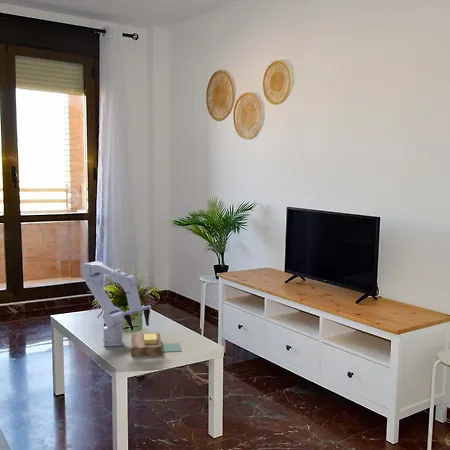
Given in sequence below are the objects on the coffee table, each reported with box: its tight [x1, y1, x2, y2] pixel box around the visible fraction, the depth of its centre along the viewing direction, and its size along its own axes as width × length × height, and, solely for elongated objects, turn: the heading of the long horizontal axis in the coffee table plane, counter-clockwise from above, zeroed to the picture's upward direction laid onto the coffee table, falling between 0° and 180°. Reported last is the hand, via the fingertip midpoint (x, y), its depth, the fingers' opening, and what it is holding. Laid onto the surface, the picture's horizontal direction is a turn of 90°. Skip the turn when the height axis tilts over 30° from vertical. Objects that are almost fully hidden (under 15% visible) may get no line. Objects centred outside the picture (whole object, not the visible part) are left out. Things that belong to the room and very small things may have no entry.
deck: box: [130, 332, 163, 357], centre depth 248 cm, size 14×20×4 cm
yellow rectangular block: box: [143, 333, 157, 344], centre depth 247 cm, size 6×9×2 cm, turn 10°
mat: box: [161, 342, 182, 353], centre depth 249 cm, size 9×11×1 cm
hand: (140, 327), depth 245 cm, fingers open, 7 cm apart
